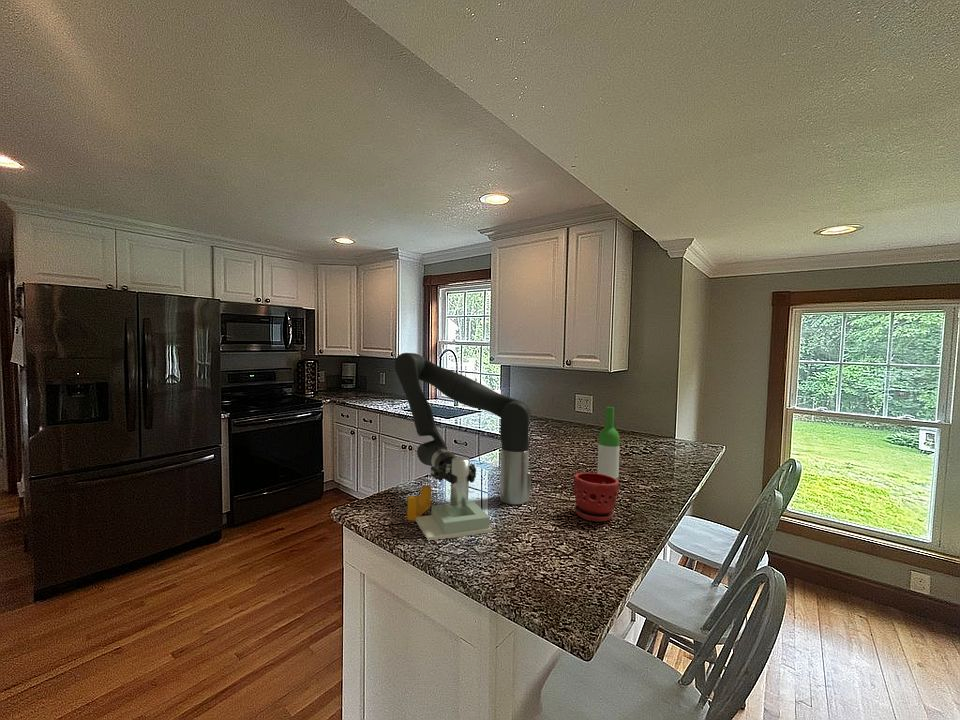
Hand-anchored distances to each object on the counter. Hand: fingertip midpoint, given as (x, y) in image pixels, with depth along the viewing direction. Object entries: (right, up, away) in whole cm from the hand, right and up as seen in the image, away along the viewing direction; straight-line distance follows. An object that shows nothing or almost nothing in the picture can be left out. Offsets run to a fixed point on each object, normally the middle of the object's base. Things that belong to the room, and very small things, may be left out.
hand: (463, 479), depth 113 cm
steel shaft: (-1, -8, +3) cm, 8 cm away
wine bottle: (+54, -15, +45) cm, 72 cm away
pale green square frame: (-3, -14, +2) cm, 14 cm away
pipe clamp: (-15, -14, +11) cm, 23 cm away
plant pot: (+40, -15, +12) cm, 45 cm away
